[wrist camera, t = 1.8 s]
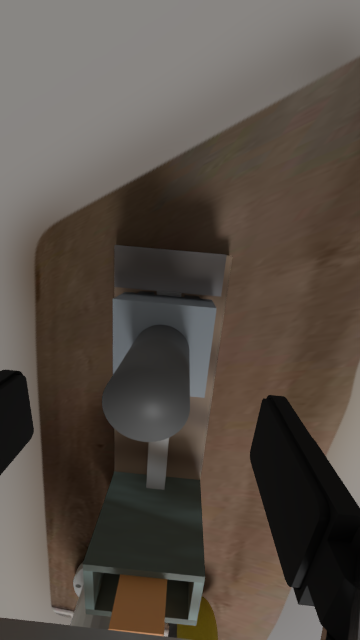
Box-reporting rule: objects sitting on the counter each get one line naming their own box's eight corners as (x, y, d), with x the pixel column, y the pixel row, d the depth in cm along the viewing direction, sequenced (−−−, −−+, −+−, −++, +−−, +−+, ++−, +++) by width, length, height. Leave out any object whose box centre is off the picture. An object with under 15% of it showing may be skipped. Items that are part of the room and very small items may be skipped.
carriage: (201, 371, 20) (213, 472, 11) (127, 364, 21) (73, 458, 11) (210, 297, 18) (234, 341, 9) (128, 290, 19) (64, 326, 9)
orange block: (165, 587, 21) (160, 663, 17) (123, 583, 21) (108, 657, 17) (168, 560, 20) (163, 634, 16) (124, 555, 20) (108, 628, 16)
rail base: (193, 508, 29) (196, 625, 20) (115, 500, 29) (81, 613, 20) (229, 256, 20) (264, 255, 11) (115, 246, 20) (54, 237, 11)
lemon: (170, 590, 34) (165, 688, 26) (194, 574, 33) (196, 672, 25) (197, 605, 35) (200, 705, 27) (221, 590, 33) (231, 690, 26)
